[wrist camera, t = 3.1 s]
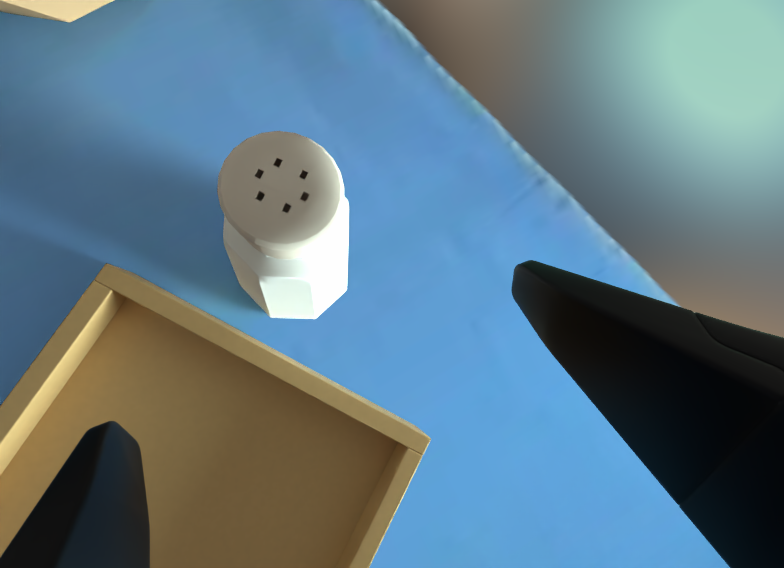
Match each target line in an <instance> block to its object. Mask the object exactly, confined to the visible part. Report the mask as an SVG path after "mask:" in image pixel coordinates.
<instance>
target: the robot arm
mask: <svg viewBox="0 0 784 568" xmlns="http://www.w3.org/2000/svg"><path fill="white" fill-rule="evenodd" d="M512 295H513V298H514V300H515V301H516V303H517V304H518V306H519V307H520V309H521V310H522V312H523V313H524V315H525V316H526V318H527V319H528V321H529V322H530V324H531V325H532V327H533V328H534V330H535V331H536V333H537V334H538V336H539V337H540V339H541V340H542V341H543V343H544V344H545V346H546V347H547V348H548V350H549V351H550V352H551V353H552V355H553V356H554V357H555V358H556V359H557V361H558V362H559V363H560V364H561V365H562V367H563V368H564V369H565V370H566V371H567V373H568V374H569V375H570V376H571V377H572V379H573V380H574V381H575V382H576V383H577V385H578V386H579V387H580V388H581V389H582V391H583V392H584V393H585V394H586V395H587V396H588V398H589V399H590V400H591V401H592V402H593V404H594V405H595V406H596V407H597V408H598V410H599V411H600V412H601V413H602V414H603V416H604V417H605V418H606V419H607V420H608V422H609V423H610V424H611V425H612V426H613V428H614V429H615V430H616V431H617V432H618V434H619V435H620V436H621V437H622V438H623V440H624V441H625V442H626V443H627V444H628V446H629V447H630V448H631V449H632V450H633V452H634V453H635V454H636V455H637V456H638V458H639V459H640V460H641V461H642V462H643V463H644V465H645V466H646V467H647V468H648V469H649V471H650V472H651V473H652V474H653V475H654V477H655V478H656V479H657V480H658V481H659V483H660V484H661V485H662V486H663V487H664V489H665V490H666V491H667V492H668V493H669V495H670V496H671V497H672V498H673V499H674V501H675V502H676V503H677V504H678V505H679V507H680V508H681V509H682V511H683V512H684V513H685V514H686V515H687V517H688V518H689V519H690V520H691V521H692V522H693V524H694V525H695V526H696V527H697V528H698V530H699V531H700V532H701V533H702V534H703V536H704V537H705V538H706V539H707V540H708V542H709V543H710V544H711V545H712V546H713V548H714V549H715V550H716V551H717V552H718V554H719V555H720V556H721V557H722V558H723V560H724V561H725V562H726V563H727V564H728V566H729V567H730V568H784V338H783V337H779V336H775V335H771V334H767V333H764V332H760V331H756V330H753V329H749V328H746V327H742V326H739V325H735V324H732V323H729V322H726V321H722V320H719V319H716V318H713V317H709V316H706V315H703V314H700V313H694V312H692V311H691V310H687V309H684V308H681V307H678V306H675V305H672V304H669V303H666V302H662V301H659V300H656V299H653V298H650V297H647V296H644V295H640V294H637V293H634V292H631V291H628V290H625V289H622V288H618V287H615V286H612V285H609V284H606V283H603V282H600V281H596V280H593V279H590V278H587V277H584V276H581V275H578V274H575V273H571V272H568V271H565V270H562V269H559V268H556V267H553V266H549V265H546V264H543V263H540V262H537V261H533V260H529V261H526V262H523V263H521V264H518V265H517V266H516V267H515V269H514V275H513V283H512ZM0 568H150V524H149V513H148V505H147V497H146V489H145V481H144V473H143V465H142V457H141V450H140V446H139V444H138V442H137V441H136V440H135V439H134V438H133V437H132V436H131V435H130V434H129V433H128V432H127V431H126V430H125V429H124V428H123V427H122V426H121V425H120V424H118V423H117V422H115V421H108V422H105V423H102V424H100V425H97V426H95V427H92V428H90V429H89V430H87V431H86V432H85V434H84V435H83V437H82V438H81V439H80V441H79V442H78V444H77V445H76V447H75V448H74V450H73V451H72V453H71V454H70V456H69V457H68V459H67V460H66V461H65V463H64V464H63V466H62V467H61V469H60V470H59V472H58V473H57V475H56V476H55V478H54V479H53V481H52V482H51V484H50V485H49V486H48V488H47V489H46V491H45V492H44V494H43V495H42V497H41V498H40V500H39V501H38V503H37V504H36V506H35V507H34V508H33V510H32V511H31V513H30V514H29V516H28V517H27V519H26V520H25V522H24V523H23V525H22V526H21V528H20V529H19V531H18V532H17V533H16V535H15V536H14V538H13V539H12V541H11V542H10V544H9V545H8V547H7V548H6V550H5V551H4V553H3V554H2V555H1V557H0Z"/></svg>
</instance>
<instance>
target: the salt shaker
mask: <svg viewBox="0 0 784 568" xmlns="http://www.w3.org/2000/svg"><path fill="white" fill-rule="evenodd" d="M217 192H218V197H219V202H220V206H221V209H222V211H223V213H224V214H225V215H224V228H223V241H224V246H225V249H226V251H227V254H228V256H229V259H230V261H231V264H232V266H233V269H234V271H235V274H236V276H237V279H238V281H239V284H240V286H241V287H242V288H243V289H244V290H245V291H246V292H247V293H248V294H249V295H250V296H251V297H252V298H253V300H254V301H255V302H256V303H257V304H258V305H259V306H260V307H261V308H262V309H263V310H264V311H265V312H266V313H267V314H268V315H269V316H270V317H271V318H299V319H316V318H317V317H318V316H319V315H320V314H321V313H322V312H324V311H325V310H326V309H327V308H328V307H329V306H330V305H331V304H332V303H333V302H334V301H336V300H337V299H338V298H339V297H340V296H341V295H342V294H343V293H344V292H345V291H346V290H347V271H348V234H349V204H348V200H347V199H346V198H345V197H344V184H343V180H342V176H341V172H340V170H339V168H338V167H337V165H336V163H335V161H334V159H333V158H332V157H331V156H330V155H329V154H328V153H327V151H326V150H325V149H324V148H323V147H321V146H320V145H318V144H317V143H315V142H314V141H312V140H311V139H309V138H307V137H304V136H301V135H298V134H296V133H290V132H282V131H274V132H266V133H261V134H258V135H256V136H253V137H250V138H248V139H246V140H245V141H243V142H242V143H241V144H239V145H238V146H237V147H235V148H234V149H233V150H232V152H231V153H230V154H229V155H228V157H227V158H226V159H225V161H224V163H223V165H222V168H221V171H220V173H219V176H218V189H217Z"/></svg>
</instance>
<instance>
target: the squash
mask: <svg viewBox="0 0 784 568" xmlns="http://www.w3.org/2000/svg"><path fill="white" fill-rule="evenodd" d="M112 1H114V0H0V11H1V12H5V13H10V14H16V15H23V16H30V17H36V18H43V19H50V20H57V21H64V22H72V21H74V20H76V19H78V18H80V17H82V16H84V15H86V14H88V13H90V12H92V11H94V10H96V9H98V8H100V7H102V6H104V5H106V4H108V3H110V2H112Z"/></svg>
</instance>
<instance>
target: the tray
mask: <svg viewBox="0 0 784 568" xmlns="http://www.w3.org/2000/svg"><path fill="white" fill-rule="evenodd" d="M94 280H95V281H92V283H91V284H90V286H89V287H88V288H87V290H86V291H85V292H84V294H83V295H82V296H81V298H80V299H79V300H78V302H77V303H76V304H75V306H74V307H73V309H72V310H71V311H70V313H69V314H68V315H67V317H66V318H65V319H64V321H63V322H62V323H61V325H60V326H59V327H58V329H57V330H56V332H55V333H54V334H53V336H52V337H51V338H50V340H49V341H48V342H47V344H46V345H45V346H44V348H43V349H42V350H41V352H40V353H39V355H38V356H37V357H36V359H35V360H34V361H33V363H32V364H31V365H30V367H29V368H28V369H27V371H26V372H25V373H24V375H23V376H22V378H21V379H20V380H19V382H18V383H17V384H16V386H15V387H14V388H13V390H12V391H11V392H10V394H9V395H8V396H7V398H6V399H5V401H4V402H3V403H2V405H1V406H0V557H1V555H2V554H3V553H4V551H5V550H6V548H7V547H8V545H9V544H10V542H11V541H12V539H13V538H14V536H15V535H16V533H17V532H18V531H19V529H20V528H21V526H22V525H23V523H24V522H25V520H26V519H27V517H28V516H29V514H30V513H31V511H32V510H33V508H34V507H35V506H36V504H37V503H38V501H39V500H40V498H41V497H42V495H43V494H44V492H45V491H46V489H47V488H48V486H49V485H50V484H51V482H52V481H53V479H54V478H55V476H56V475H57V473H58V472H59V470H60V469H61V467H62V466H63V464H64V463H65V461H66V460H67V459H68V457H69V456H70V454H71V453H72V451H73V450H74V448H75V447H76V445H77V444H78V442H79V441H80V439H81V438H82V437H83V435H84V434H85V432H86V431H87V430H89V429H90V428H92V427H95V426H97V425H100V424H102V423H105V422H108V421H115V422H117V423H118V424H120V425H121V426H122V427H123V428H124V429H125V430H126V431H127V432H128V433H129V434H130V435H131V436H132V437H133V438H134V439H135V440H136V441H137V442H138V444H139V446H140V450H141V457H142V465H143V473H144V481H145V489H146V497H147V505H148V513H149V524H150V568H369V566H370V564H371V562H372V560H373V558H374V556H375V554H376V552H377V550H378V548H379V546H380V544H381V541H382V539H383V537H384V535H385V533H386V531H387V529H388V527H389V525H390V523H391V521H392V519H393V517H394V515H395V512H396V510H397V508H398V506H399V504H400V502H401V500H402V498H403V496H404V494H405V492H406V490H407V488H408V485H409V483H410V481H411V479H412V477H413V475H414V473H415V471H416V469H417V467H418V465H419V463H420V461H421V458H422V455H423V454H424V452H425V450H426V448H427V446H428V444H429V442H430V440H431V438H430V437H429V436H427V435H426V434H425V433H424V432H423V431H421V430H420V429H419V428H418V427H416V426H415V425H413V424H411V423H409V422H407V421H406V420H404V419H402V418H400V417H398V416H396V415H394V414H393V413H391V412H389V411H387V410H385V409H383V408H382V407H380V406H378V405H376V404H374V403H372V402H370V401H369V400H367V399H365V398H363V397H361V396H359V395H358V394H356V393H354V392H352V391H350V390H348V389H347V388H345V387H343V386H341V385H339V384H337V383H335V382H334V381H332V380H330V379H328V378H326V377H324V376H323V375H321V374H319V373H317V372H315V371H313V370H311V369H310V368H308V367H306V366H304V365H302V364H300V363H299V362H297V361H295V360H293V359H291V358H289V357H287V356H286V355H284V354H282V353H280V352H278V351H276V350H275V349H273V348H271V347H269V346H267V345H265V344H263V343H262V342H260V341H258V340H256V339H254V338H252V337H251V336H249V335H247V334H245V333H243V332H241V331H240V330H238V329H236V328H234V327H232V326H230V325H228V324H227V323H225V322H223V321H221V320H219V319H217V318H216V317H214V316H212V315H210V314H208V313H206V312H204V311H203V310H201V309H199V308H197V307H195V306H193V305H192V304H190V303H188V302H186V301H184V300H182V299H180V298H179V297H177V296H175V295H173V294H171V293H169V292H168V291H166V290H164V289H162V288H160V287H158V286H156V285H155V284H153V283H151V282H149V281H147V280H145V279H144V278H142V277H140V276H138V275H136V274H134V273H132V272H130V271H127V270H124V269H122V268H119V267H116V266H113V265H110V264H107V263H106V264H105V265H104V267H103V268H102V270H101V271H100V272H99V274H98V275H97V276H96V278H95V279H94Z"/></svg>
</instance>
